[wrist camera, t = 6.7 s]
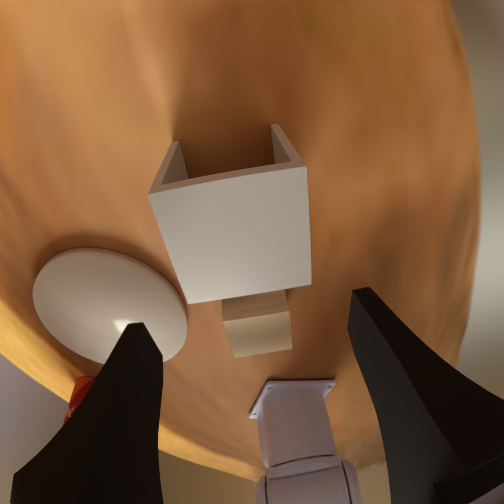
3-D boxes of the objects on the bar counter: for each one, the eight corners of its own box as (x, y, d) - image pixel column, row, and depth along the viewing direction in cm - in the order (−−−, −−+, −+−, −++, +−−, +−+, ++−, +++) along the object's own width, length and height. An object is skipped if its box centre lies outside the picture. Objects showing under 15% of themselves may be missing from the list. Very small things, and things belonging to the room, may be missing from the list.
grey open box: (287, 213, 19) (311, 284, 14) (195, 228, 19) (188, 304, 14) (277, 123, 15) (306, 166, 10) (171, 142, 15) (147, 194, 11)
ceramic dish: (183, 366, 28) (183, 375, 27) (56, 346, 25) (54, 354, 24) (195, 260, 20) (194, 269, 19) (21, 237, 18) (15, 245, 17)
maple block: (283, 306, 24) (292, 348, 21) (231, 314, 24) (234, 357, 21) (279, 267, 21) (289, 311, 18) (221, 276, 21) (222, 321, 18)
